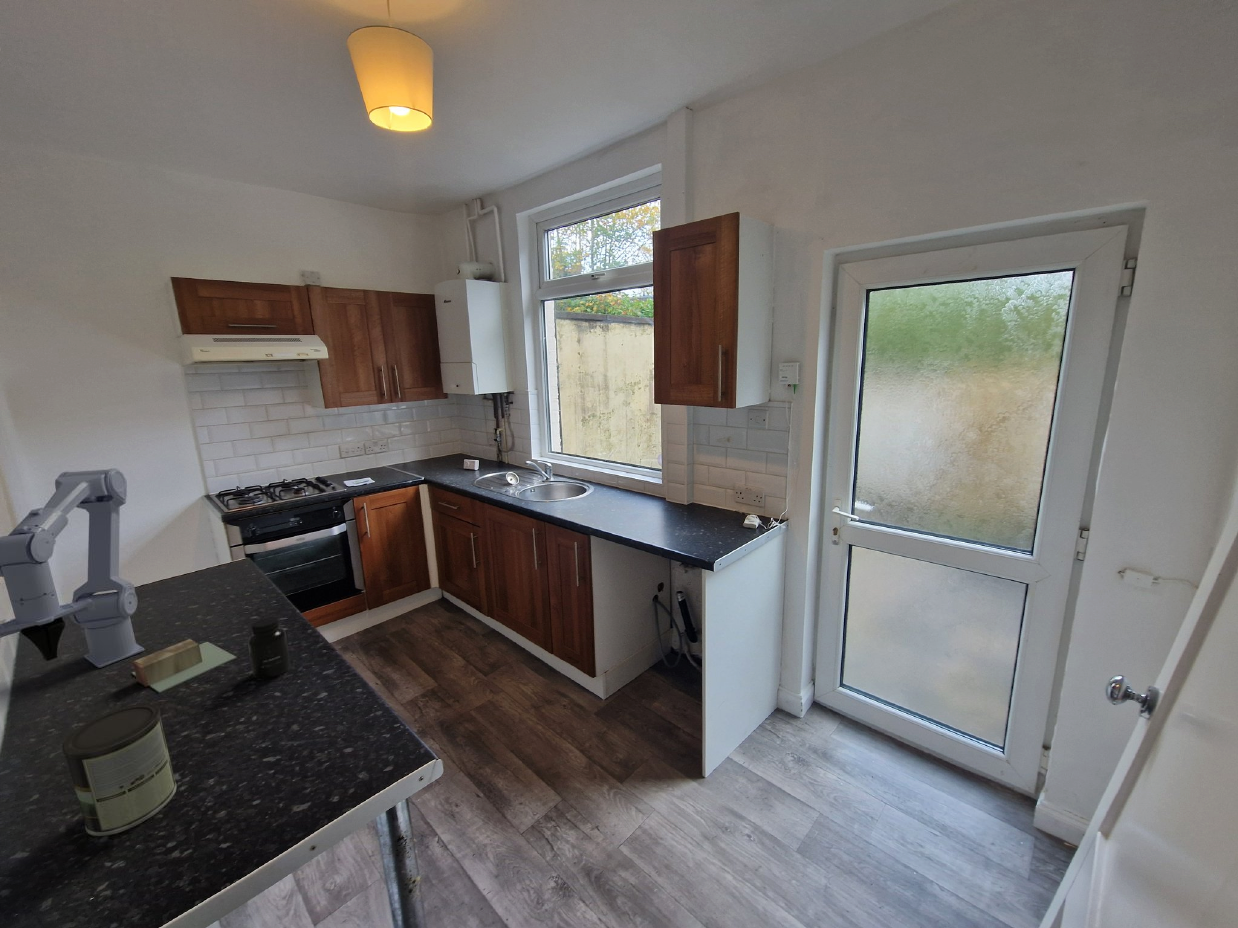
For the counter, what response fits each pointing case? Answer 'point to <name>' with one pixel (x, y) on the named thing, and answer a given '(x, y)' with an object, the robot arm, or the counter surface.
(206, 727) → the counter surface
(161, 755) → the coffee can
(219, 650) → the mat
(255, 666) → the supplement bottle
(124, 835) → the counter surface
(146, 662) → the maple block
